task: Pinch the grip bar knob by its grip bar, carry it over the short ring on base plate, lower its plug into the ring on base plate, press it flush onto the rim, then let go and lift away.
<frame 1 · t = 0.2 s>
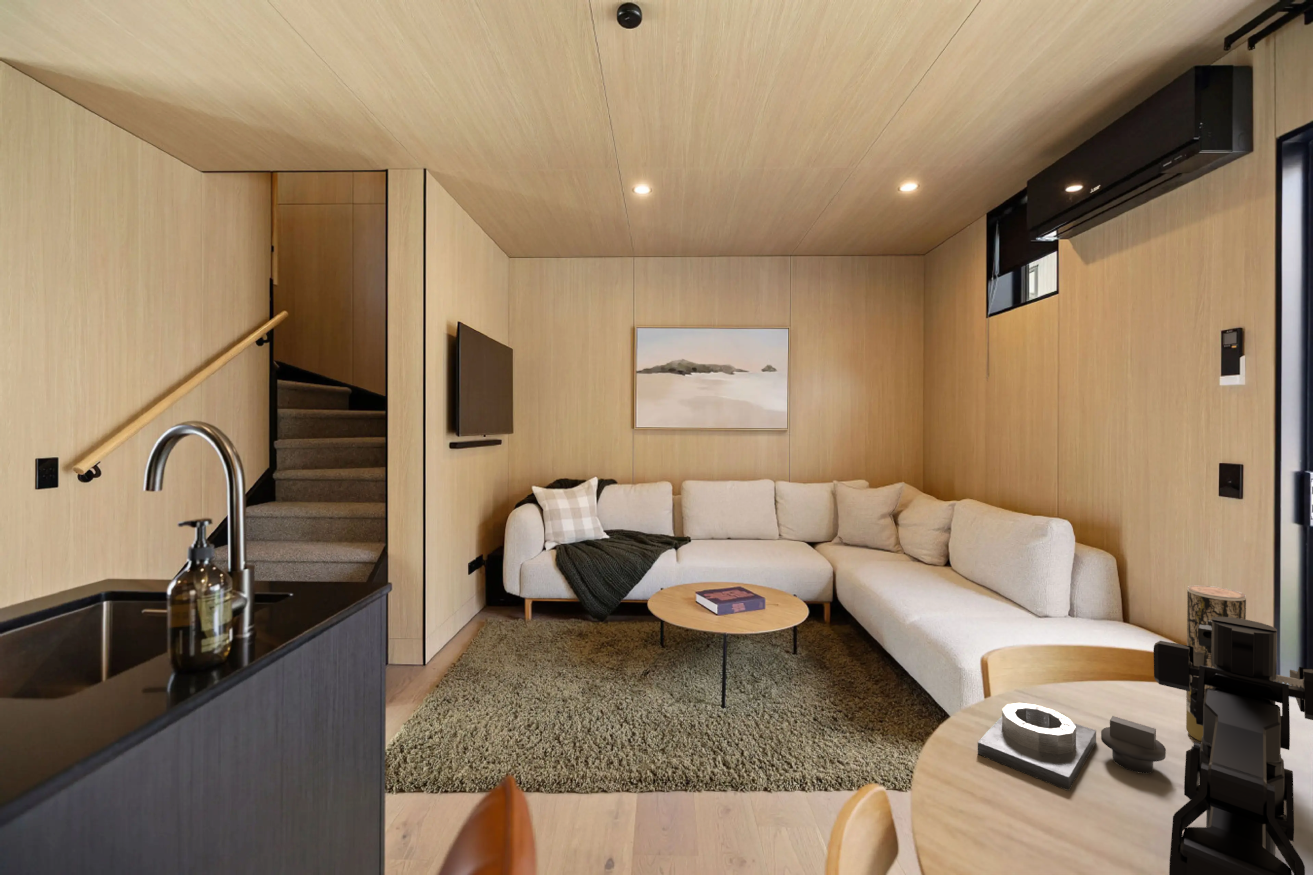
hand: (1245, 664, 83), 17 cm above the table, tool horizontal, fingers open, 9 cm apart
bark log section: (1214, 740, 92), on the table
ring on base plate: (1037, 747, 90), on the table
grip bar knob: (1132, 763, 86), on the table
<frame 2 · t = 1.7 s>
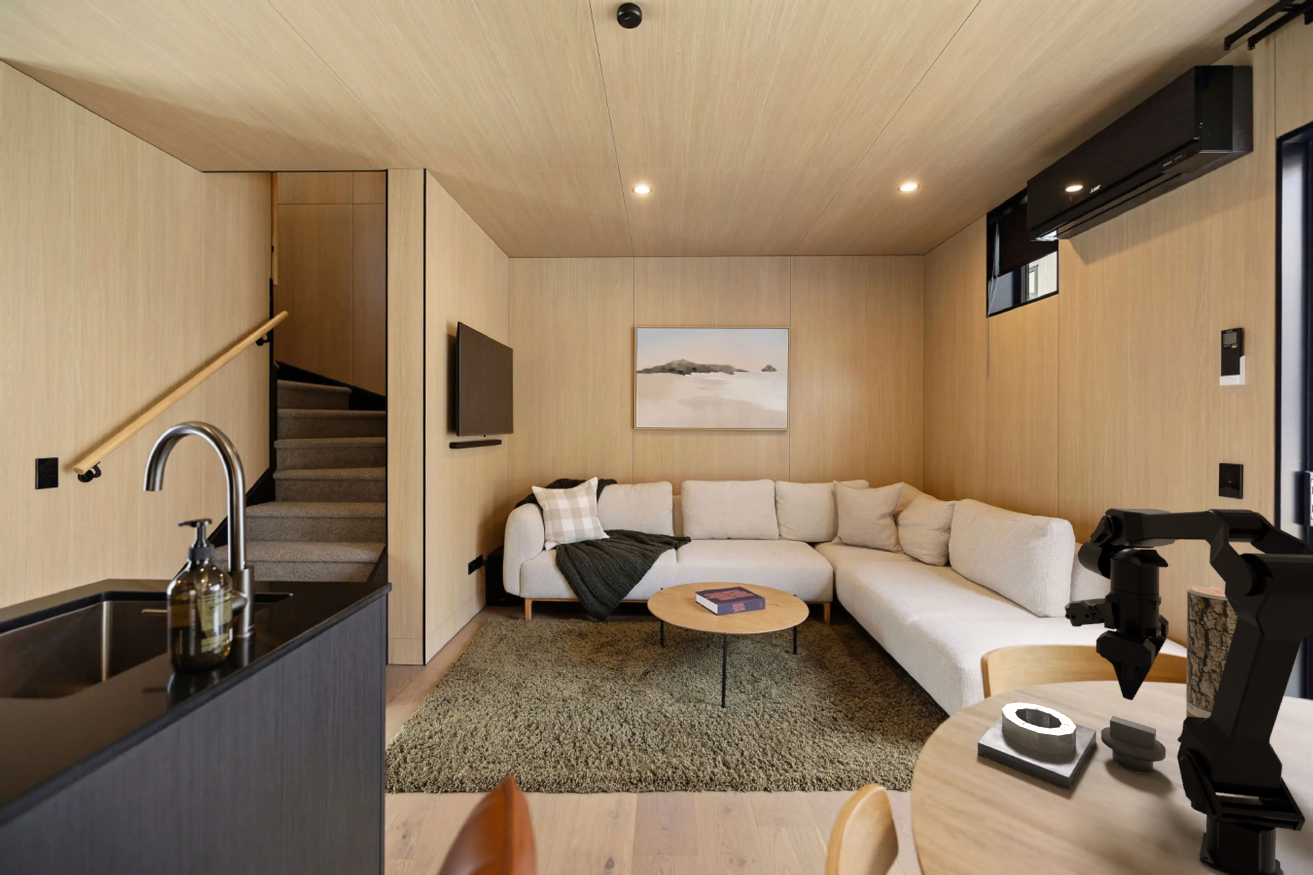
hand: (1133, 688, 85), 12 cm above the table, tool pointing down, fingers open, 9 cm apart
nothing on the table moved.
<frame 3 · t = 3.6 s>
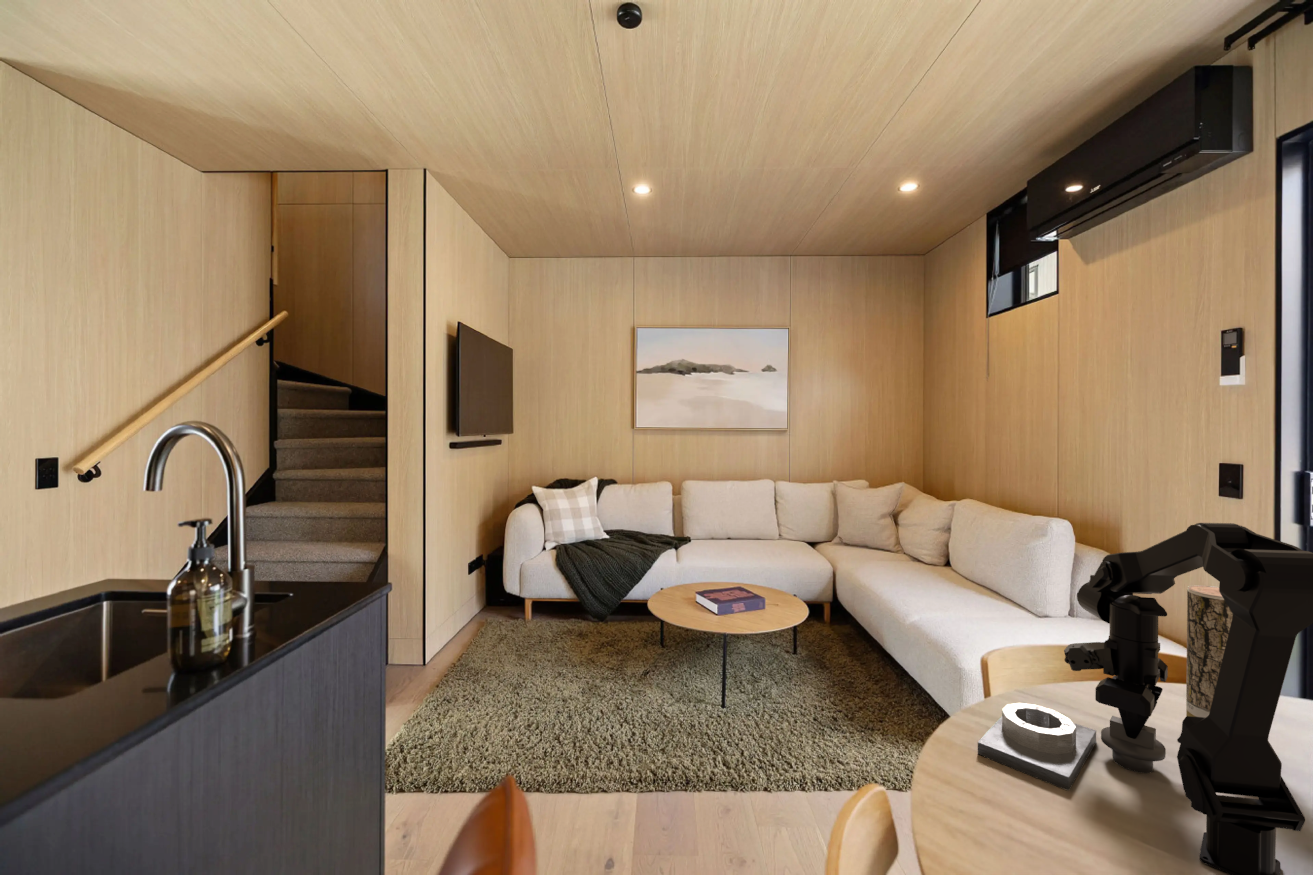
hand: (1132, 734, 86), 5 cm above the table, tool pointing down, fingers closed on grip bar knob
grip bar knob: (1132, 763, 86), on the table, touching gripper
everything else where it was.
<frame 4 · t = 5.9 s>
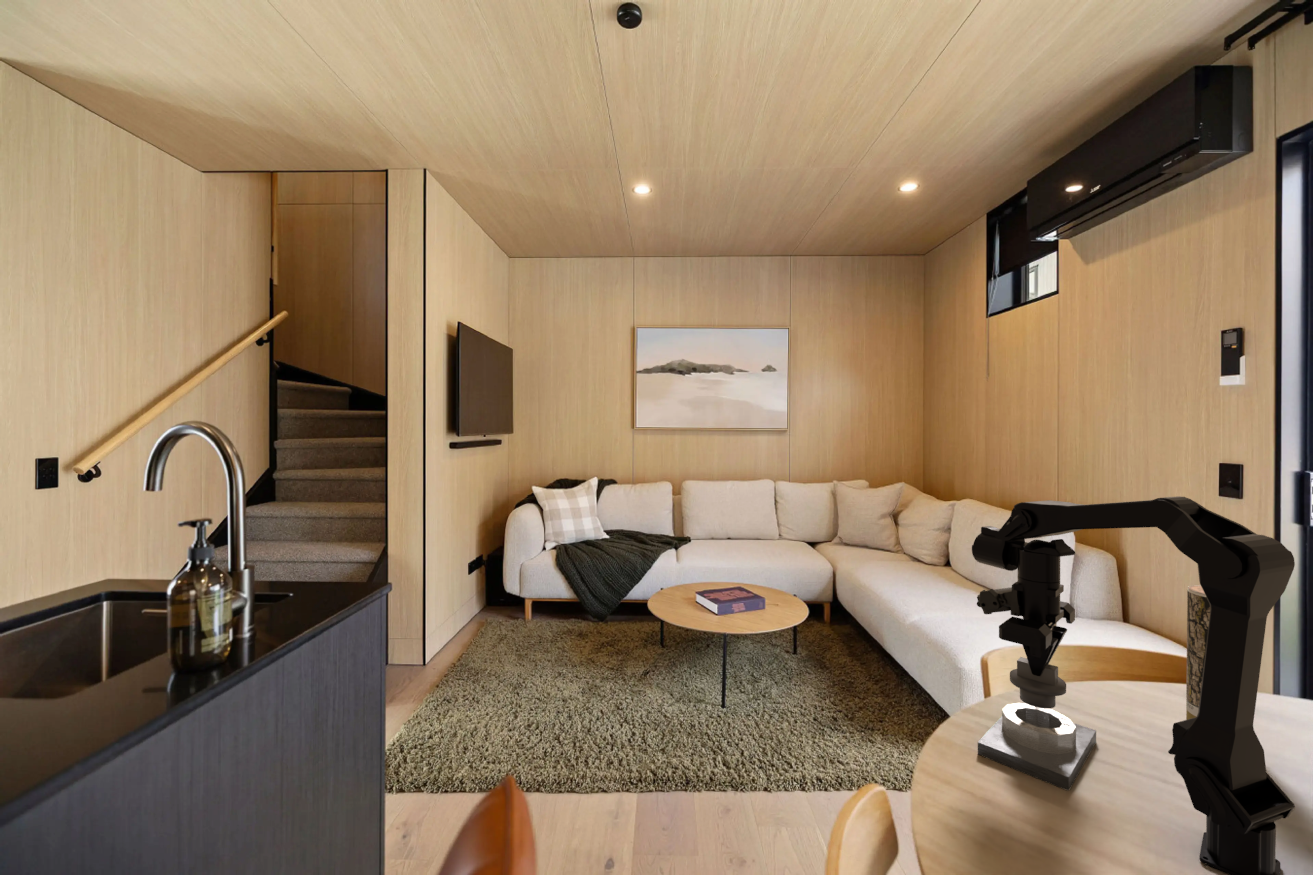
hand: (1038, 672, 90), 12 cm above the table, tool pointing down, fingers closed on grip bar knob
grip bar knob: (1037, 700, 90), point 8 cm above the table, touching gripper
everything else where it was.
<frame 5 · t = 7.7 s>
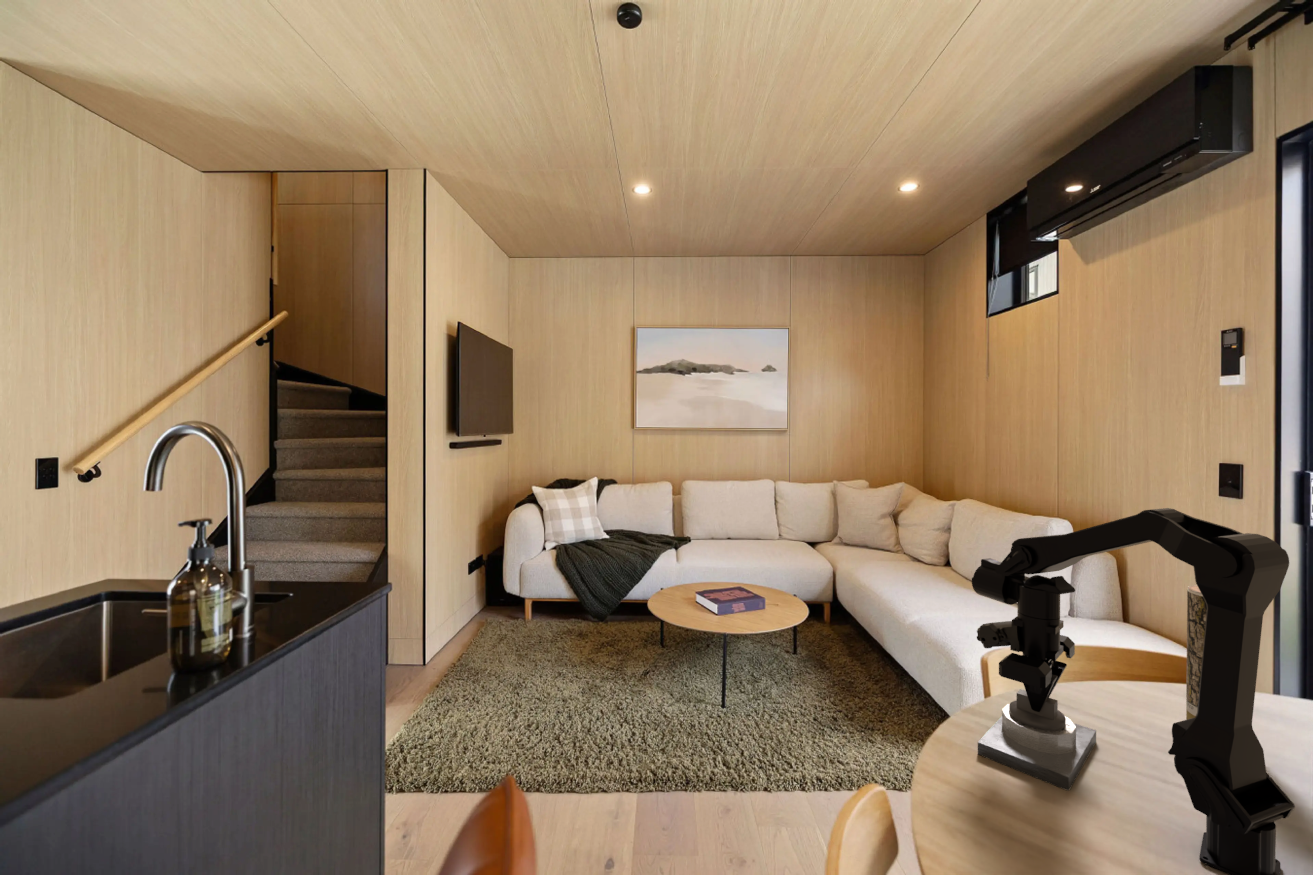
hand: (1037, 708, 90), 7 cm above the table, tool pointing down, fingers closed on grip bar knob
grip bar knob: (1036, 733, 90), point 2 cm above the table, touching gripper, ring on base plate
everything else where it was.
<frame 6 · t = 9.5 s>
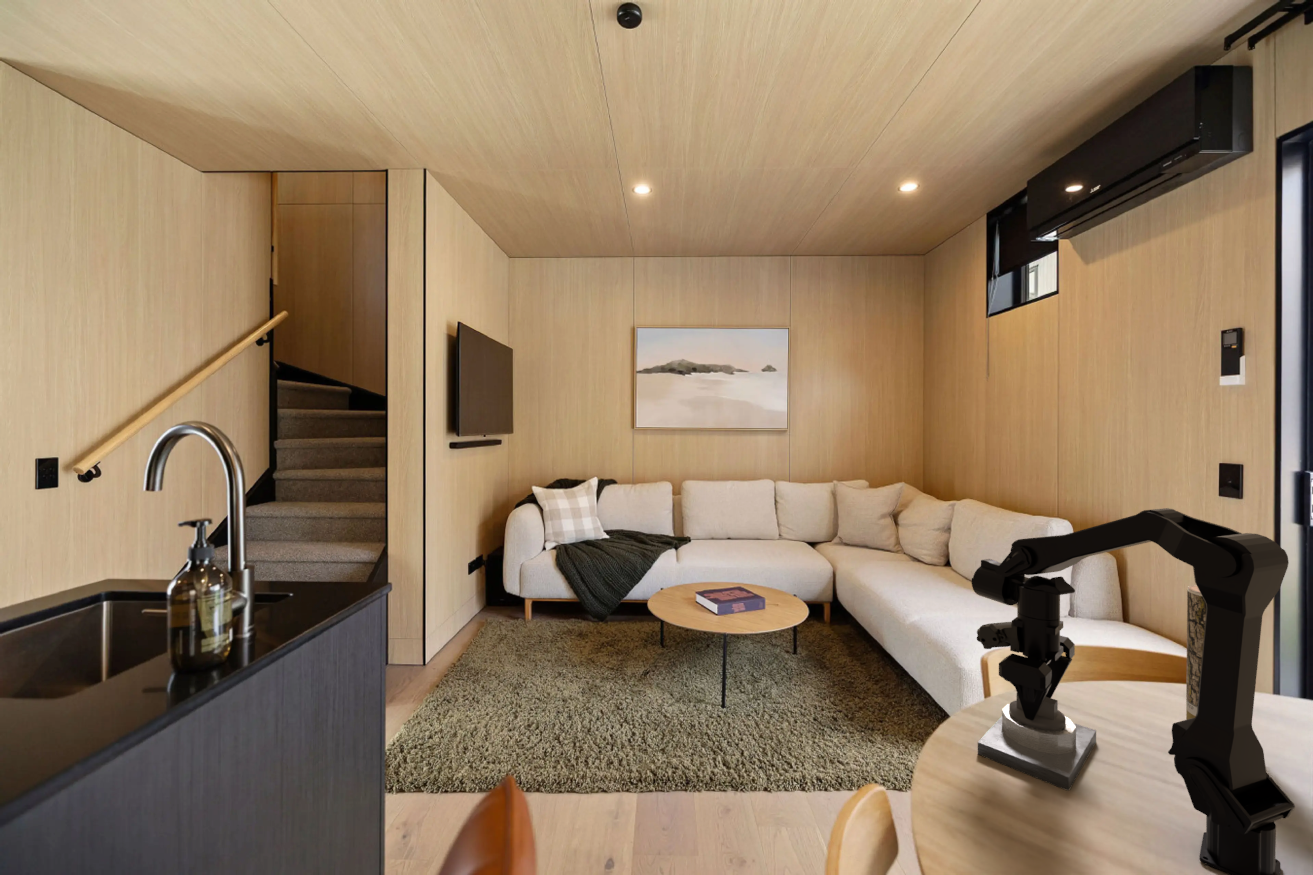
hand: (1038, 708, 90), 7 cm above the table, tool pointing down, fingers open, 9 cm apart
grip bar knob: (1036, 733, 90), point 2 cm above the table, touching ring on base plate
everything else where it was.
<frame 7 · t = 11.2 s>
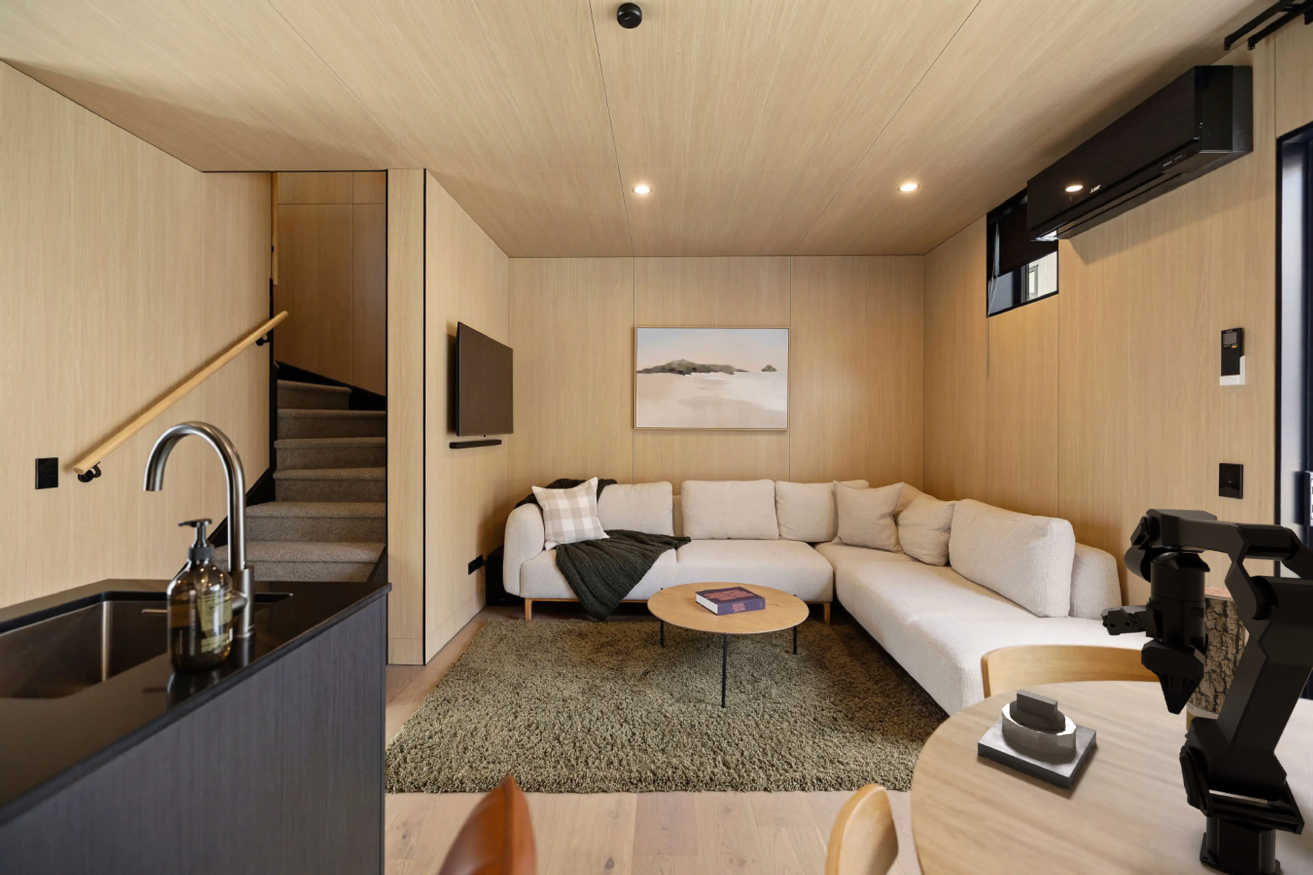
hand: (1176, 701, 80), 12 cm above the table, tool pointing down, fingers open, 9 cm apart
nothing on the table moved.
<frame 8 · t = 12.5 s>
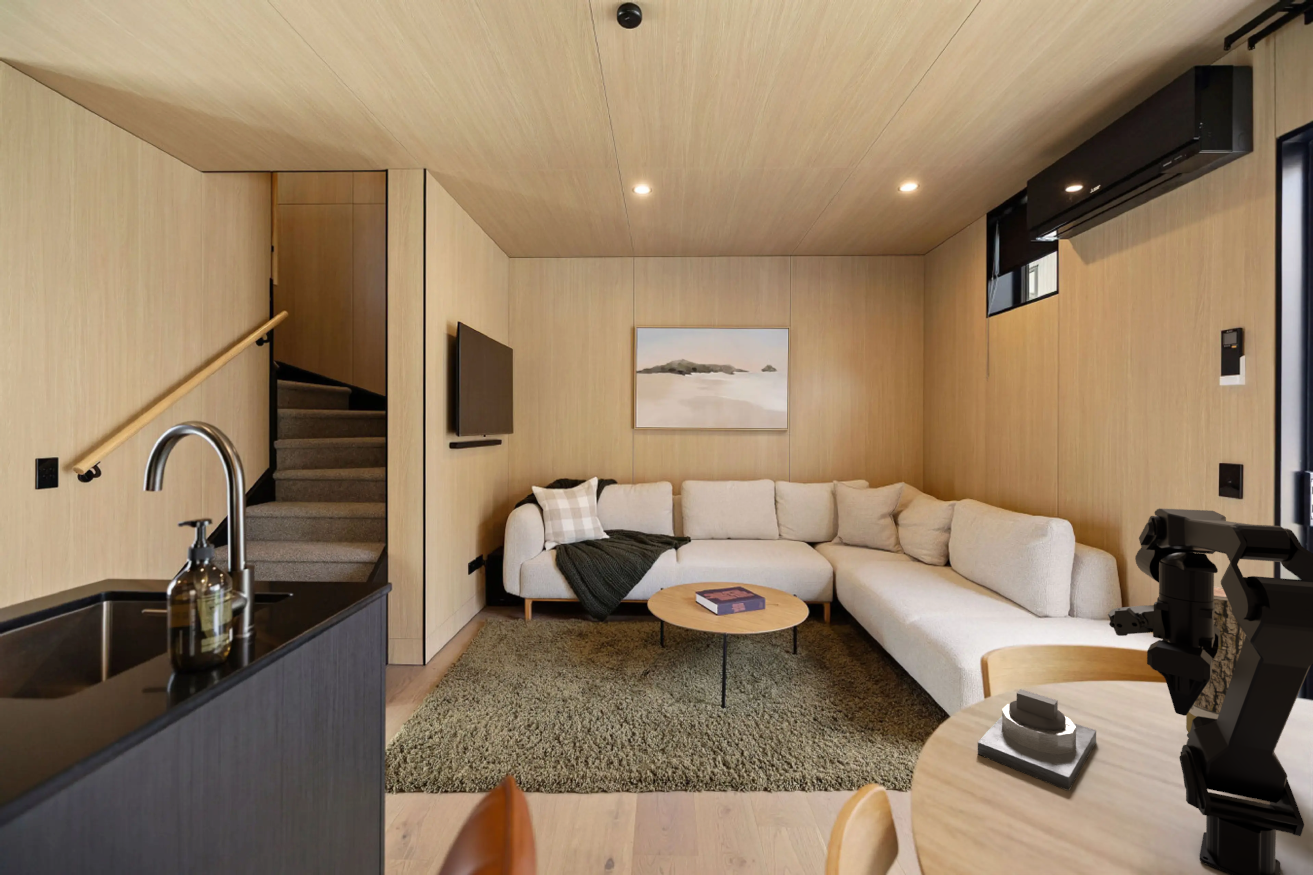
hand: (1184, 702, 80), 13 cm above the table, tool pointing down, fingers open, 9 cm apart
nothing on the table moved.
at the end: grip bar knob 0.2 cm off-centre on the ring on base plate, point 2.3 cm above the ring on base plate's base; grip bar knob tilted 0°; the gripper is holding nothing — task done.
